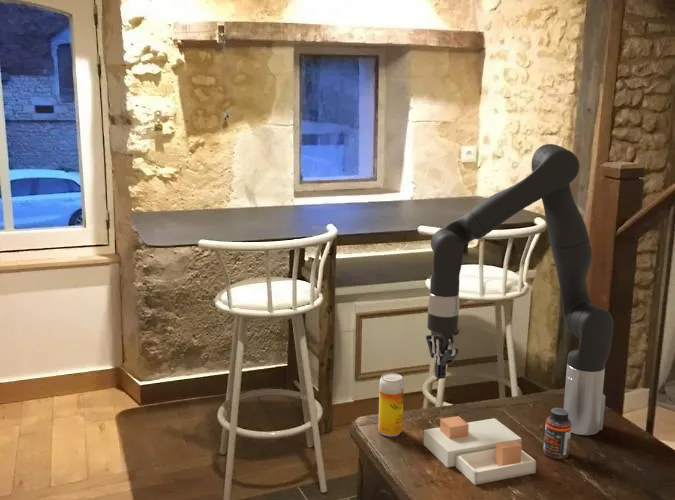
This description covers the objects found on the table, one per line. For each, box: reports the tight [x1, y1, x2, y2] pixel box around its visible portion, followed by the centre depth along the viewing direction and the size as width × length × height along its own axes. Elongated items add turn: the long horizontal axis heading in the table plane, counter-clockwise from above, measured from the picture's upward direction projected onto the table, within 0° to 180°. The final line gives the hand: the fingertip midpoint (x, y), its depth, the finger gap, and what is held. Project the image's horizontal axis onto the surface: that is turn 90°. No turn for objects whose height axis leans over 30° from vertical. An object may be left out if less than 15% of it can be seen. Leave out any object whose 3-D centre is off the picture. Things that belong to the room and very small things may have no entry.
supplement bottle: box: [543, 407, 572, 460], centre depth 180 cm, size 6×6×11 cm
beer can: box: [377, 372, 405, 438], centre depth 190 cm, size 6×6×15 cm
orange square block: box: [439, 415, 469, 439], centre depth 183 cm, size 5×5×3 cm
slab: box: [423, 417, 522, 468], centre depth 183 cm, size 20×12×4 cm, turn 110°
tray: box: [455, 448, 537, 486], centre depth 173 cm, size 16×8×3 cm, turn 110°
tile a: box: [495, 440, 523, 467], centre depth 175 cm, size 5×5×3 cm
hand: (440, 377), depth 188 cm, fingers closed
